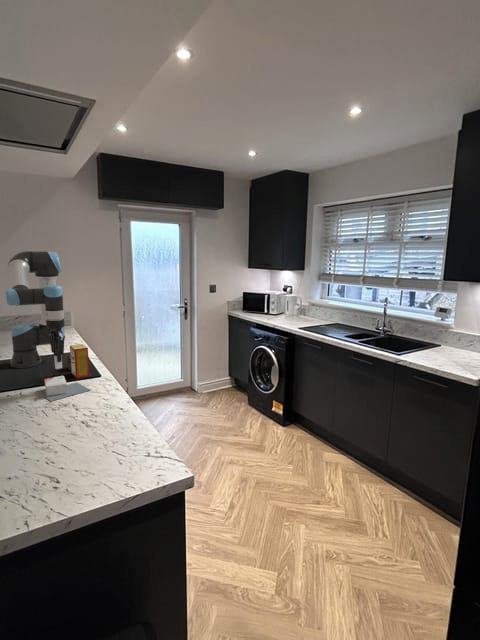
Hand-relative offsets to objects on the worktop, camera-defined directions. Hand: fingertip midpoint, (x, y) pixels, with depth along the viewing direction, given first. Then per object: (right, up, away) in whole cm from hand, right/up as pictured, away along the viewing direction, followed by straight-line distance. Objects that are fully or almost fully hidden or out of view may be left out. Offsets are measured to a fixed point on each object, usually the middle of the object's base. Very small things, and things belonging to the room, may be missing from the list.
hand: (58, 368), depth 167 cm
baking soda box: (0, -7, +22) cm, 23 cm away
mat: (+3, -11, -1) cm, 12 cm away
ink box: (-4, -7, +4) cm, 9 cm away
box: (-6, -5, +32) cm, 33 cm away
